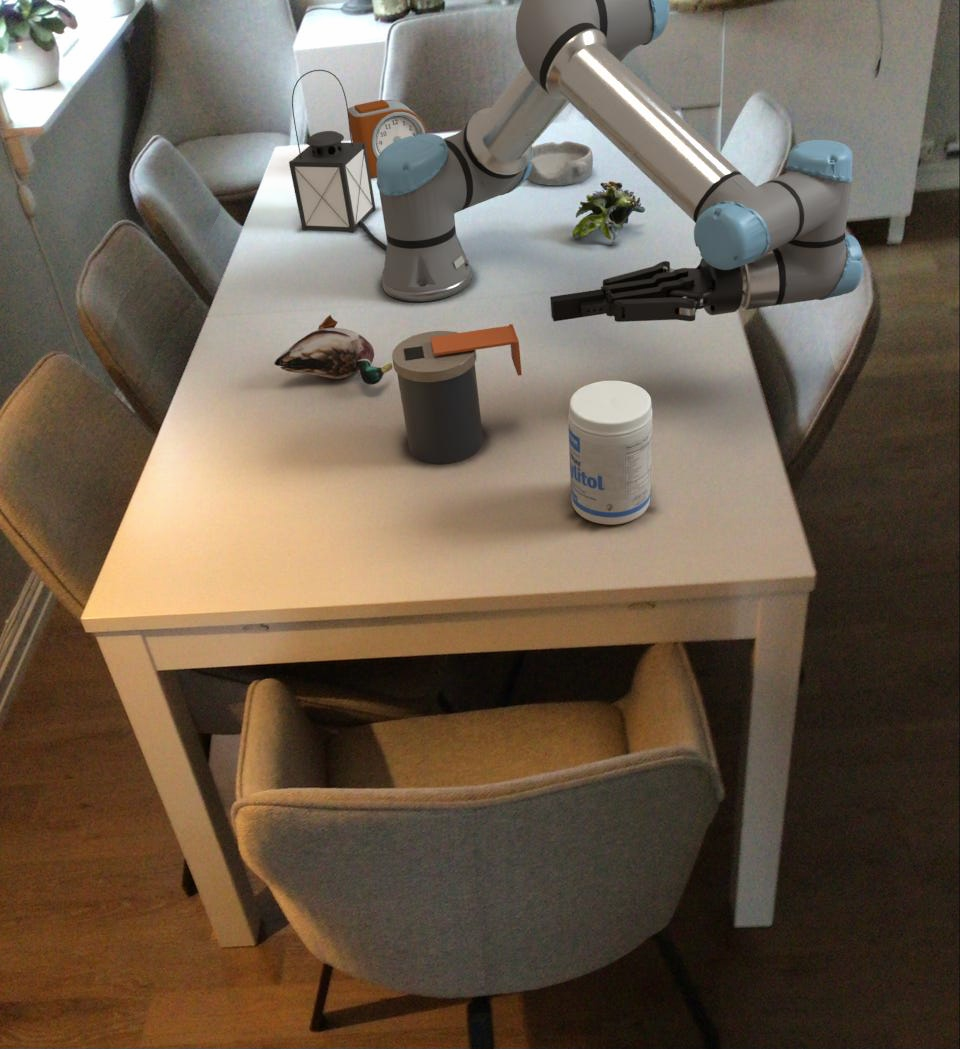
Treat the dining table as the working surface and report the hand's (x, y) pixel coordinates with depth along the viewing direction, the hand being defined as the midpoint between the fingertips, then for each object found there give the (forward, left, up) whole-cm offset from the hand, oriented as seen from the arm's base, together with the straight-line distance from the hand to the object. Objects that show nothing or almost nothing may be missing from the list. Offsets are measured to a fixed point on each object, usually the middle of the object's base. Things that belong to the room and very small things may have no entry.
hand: (552, 309), depth 135 cm
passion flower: (-36, +50, -17) cm, 64 cm away
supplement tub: (+17, -9, -17) cm, 26 cm away
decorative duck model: (-34, -13, -17) cm, 40 cm away
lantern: (-85, +26, -17) cm, 91 cm away
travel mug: (-9, -13, -17) cm, 23 cm away
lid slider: (-6, -8, -7) cm, 13 cm away
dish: (-65, +67, -17) cm, 95 cm away
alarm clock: (-99, +51, -17) cm, 113 cm away
